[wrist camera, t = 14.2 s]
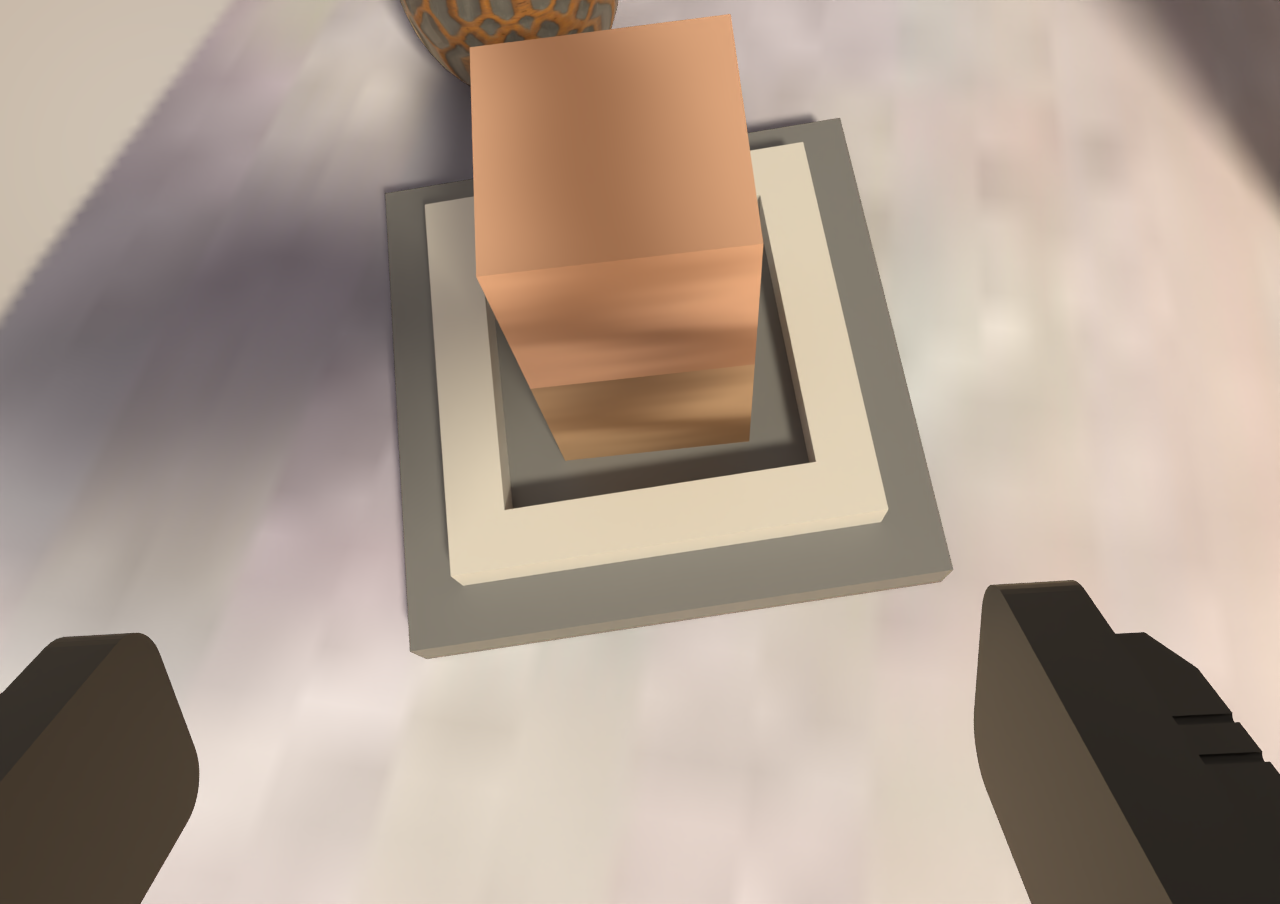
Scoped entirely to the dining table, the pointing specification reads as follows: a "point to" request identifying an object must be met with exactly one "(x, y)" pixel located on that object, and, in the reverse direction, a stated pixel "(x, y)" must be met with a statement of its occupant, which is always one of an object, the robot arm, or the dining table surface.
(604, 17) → the vase
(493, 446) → the pocket board
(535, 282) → the copper rectangular block
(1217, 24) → the dining table surface
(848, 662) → the dining table surface
